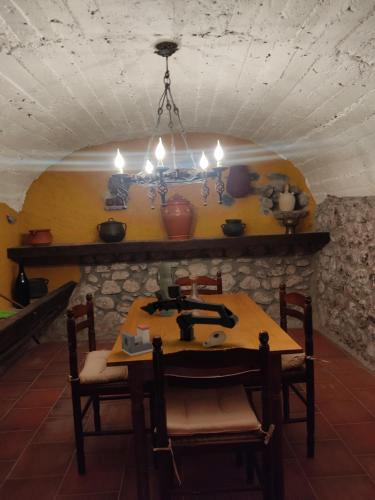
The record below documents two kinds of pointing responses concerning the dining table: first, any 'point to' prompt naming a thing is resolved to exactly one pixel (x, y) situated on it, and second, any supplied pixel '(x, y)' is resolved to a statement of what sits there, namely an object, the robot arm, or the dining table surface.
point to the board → (137, 352)
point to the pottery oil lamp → (215, 339)
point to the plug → (142, 334)
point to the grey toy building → (133, 344)
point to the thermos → (165, 283)
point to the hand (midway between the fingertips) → (144, 306)
